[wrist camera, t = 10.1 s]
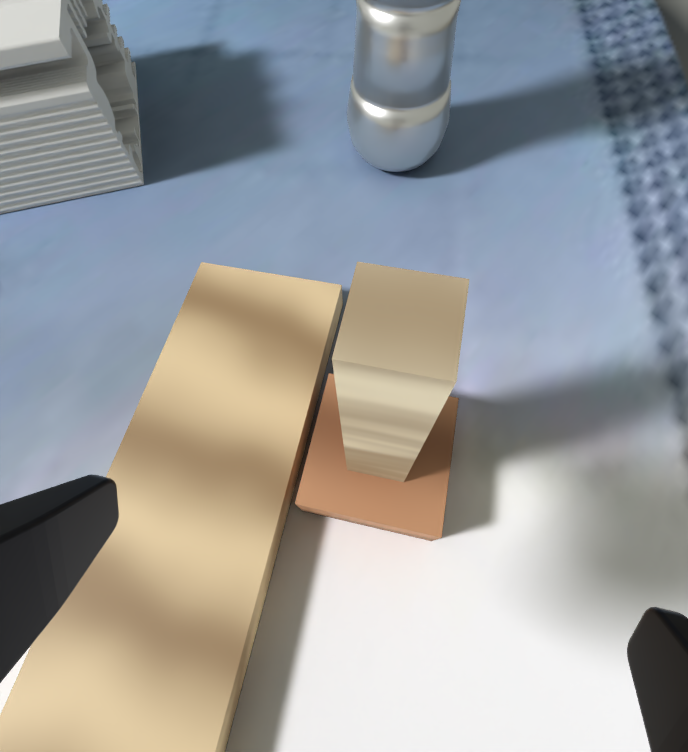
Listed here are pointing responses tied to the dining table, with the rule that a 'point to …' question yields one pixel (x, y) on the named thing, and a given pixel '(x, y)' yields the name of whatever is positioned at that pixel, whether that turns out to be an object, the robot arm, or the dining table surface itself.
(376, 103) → the plastic bottle
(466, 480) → the dining table surface
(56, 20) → the aluminum extrusion profile
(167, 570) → the board
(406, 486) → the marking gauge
